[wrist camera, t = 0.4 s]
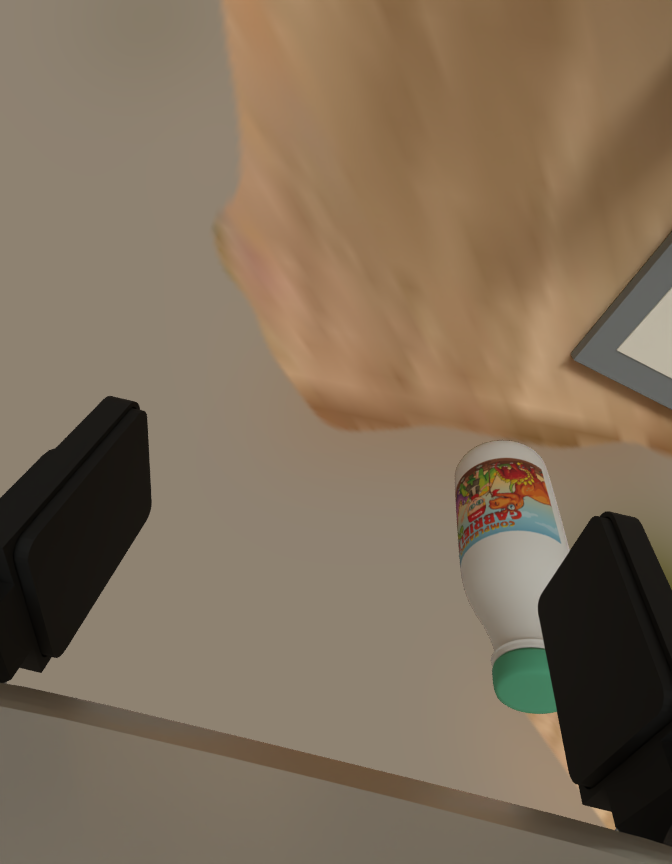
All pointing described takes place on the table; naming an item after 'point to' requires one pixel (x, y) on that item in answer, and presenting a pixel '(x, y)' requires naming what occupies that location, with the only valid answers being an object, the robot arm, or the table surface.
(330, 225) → the table surface
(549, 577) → the milk bottle
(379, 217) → the table surface
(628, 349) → the drawing board
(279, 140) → the table surface
